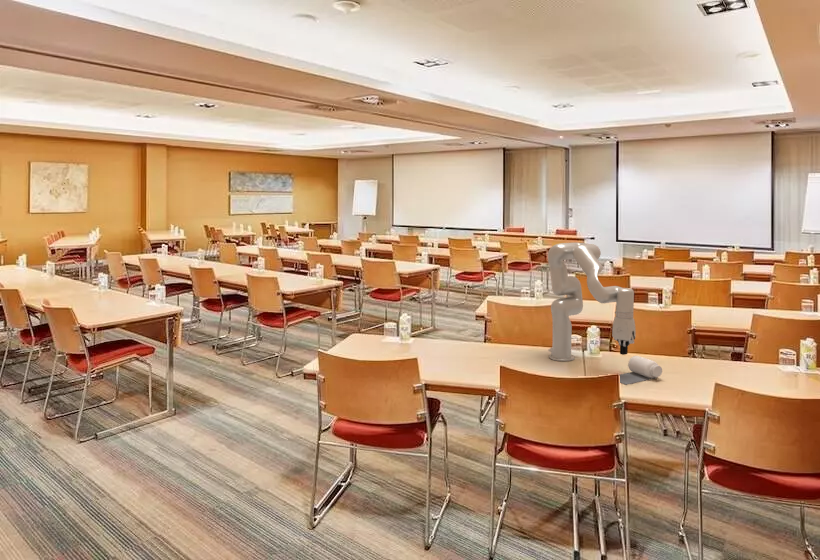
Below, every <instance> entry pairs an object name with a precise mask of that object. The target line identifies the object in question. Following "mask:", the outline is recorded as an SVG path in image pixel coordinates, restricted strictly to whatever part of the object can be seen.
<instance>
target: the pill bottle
mask: <svg viewBox="0 0 820 560" xmlns="http://www.w3.org/2000/svg"><path fill="white" fill-rule="evenodd" d="M627 366H628V369H629V371H630V372H634V373H637V374H640V375H643V376H645V377H648V378H653V377H657V378H659V377H660V376H661V375H662V374H663V369H662V366H660V365H659V364H658V363H657V362H656V361H655V360H652V359H648V358H646V357H644V356H643V357H642V356H640V355H633V356H631V358H630V359H629V360H628V365H627Z"/></svg>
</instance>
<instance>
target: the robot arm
mask: <svg viewBox="0 0 820 560" xmlns="http://www.w3.org/2000/svg"><path fill="white" fill-rule="evenodd" d="M601 255H602V254H601V249H600V248H599V246H598V245H597V244H595V243H594V244H593V243H584V242H561V243H556V244H554V245H552V246H551V247H550V248H549V250H548V253H547V261H548V262H547V263H548V266H549V272H550V280H551V281H550V282H551V291H552V293H553V294H554V295H555V296H566V297H562V298H561V297H560V298H556V299H554V300H553V301H552V302H551V305H550V312H551V318H552V347H550V348H549V349H548V352H550V354H549V357H548V358H549V359H550V360H553V361H556V362H570V361H573V360H575V356H574V355H572V335H573V334H572V331H573V330H572V328H573V327H572V321H571V319H570V317H571V316H577V315H579V314H581V313H582V311H583V307H584V301H583V291H582V290H583V289H582V284H581V281H580V280H579V278H577V276H573V275H569V274H568V267H567V265H566V264H565V263H566V262H564V261H566V260H575V261H576V262H577V264H578V265H579V267H580V268H581V269H582V271H583V273H584V274H585V275H586V277H587V278H586V285H587V288H588V291H589V292H590V294H591V295H592V297H593V298H594V299H595V300H596V301H597V302H598V303H599V304H610V303H615V305H616V307H615V308H616V309H615V311H614V314H615V316H614V318H613V323H612V330H611V331H612V333H611V334H612V335H611V336H612V338H613V339H614V340H615V342H617V343H618V346H619V354H620V355H622V356H623V355H624V356H625V355H628V351H629V350H628V347H629V346H630V344H635V339H636V333H637V332H636V321H635V318H634V310H635V309H634V307H635V305H634V303H635V291H634V289H632V288H628V287H621V286H618V285H611V286H603V285H602V283H601V282H600V280H599V278H598V276H599V275H600V274H601V273H602V271H603V265H602V264H601V262H600V261H599V259H600V257H601Z"/></svg>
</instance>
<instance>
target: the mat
mask: <svg viewBox="0 0 820 560" xmlns="http://www.w3.org/2000/svg"><path fill="white" fill-rule="evenodd" d="M619 375H620V383H619V384H623V385H625V386H628V385H633V384H637V383H640V382H645V381H649V380H653V379H654V380H655V379H657V378H658V377H653V378H648V377H645V376H643V375H640V374H637V373H634V372H632V371H630V372H629V371H628V372H625V373H621V374H619Z"/></svg>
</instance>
